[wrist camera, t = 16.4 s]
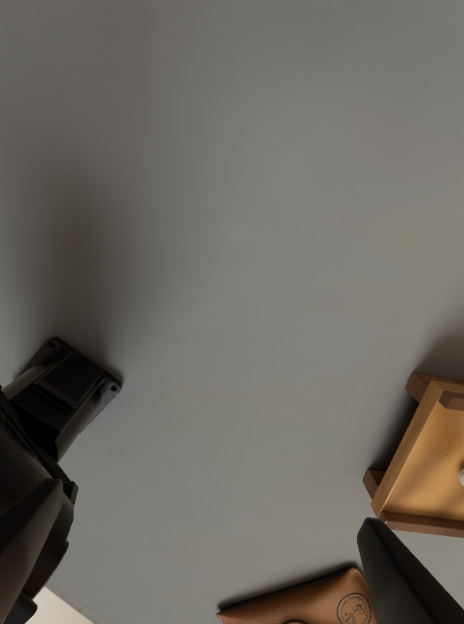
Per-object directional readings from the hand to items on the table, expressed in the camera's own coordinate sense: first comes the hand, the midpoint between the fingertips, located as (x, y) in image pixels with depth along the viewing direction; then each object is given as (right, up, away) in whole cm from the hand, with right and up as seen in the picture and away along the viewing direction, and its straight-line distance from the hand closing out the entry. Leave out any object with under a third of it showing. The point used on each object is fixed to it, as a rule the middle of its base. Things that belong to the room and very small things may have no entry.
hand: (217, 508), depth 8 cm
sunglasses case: (+8, -29, +24) cm, 38 cm away
